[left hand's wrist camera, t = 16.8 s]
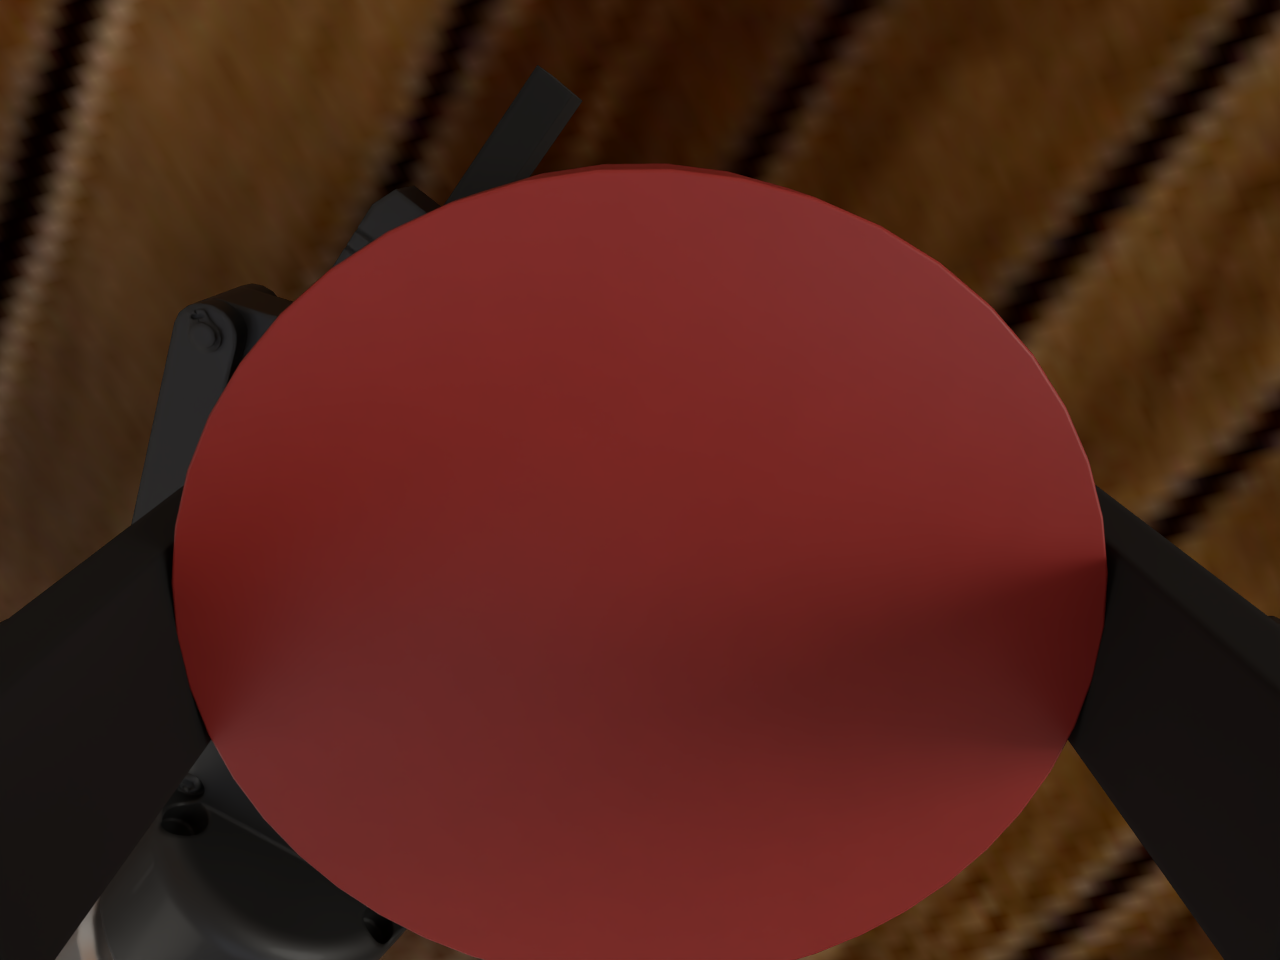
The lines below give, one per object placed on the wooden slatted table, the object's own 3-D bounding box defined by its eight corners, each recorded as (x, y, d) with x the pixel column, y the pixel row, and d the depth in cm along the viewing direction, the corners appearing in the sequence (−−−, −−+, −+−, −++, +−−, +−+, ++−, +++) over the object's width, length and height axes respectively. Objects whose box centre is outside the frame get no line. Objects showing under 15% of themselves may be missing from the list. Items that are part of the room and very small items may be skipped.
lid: (1174, 261, 10) (1279, 285, 9) (902, 924, 14) (937, 1028, 12) (245, 74, 9) (161, 61, 8) (233, 829, 13) (175, 928, 12)
